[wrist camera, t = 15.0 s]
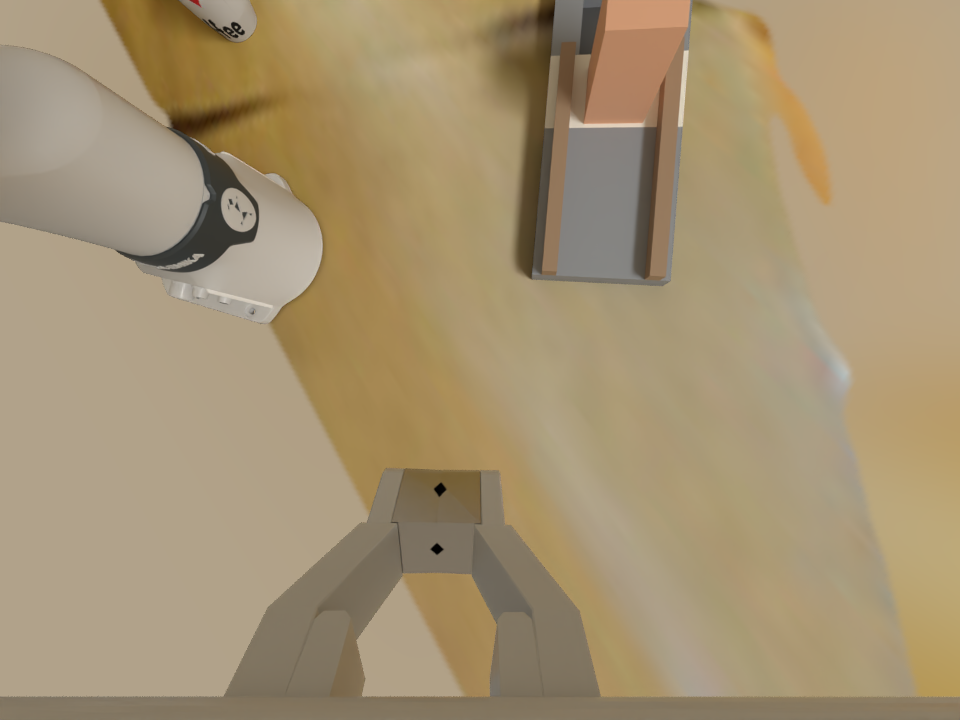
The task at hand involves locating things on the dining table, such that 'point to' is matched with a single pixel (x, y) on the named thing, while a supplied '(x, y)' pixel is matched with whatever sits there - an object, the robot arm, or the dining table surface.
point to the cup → (226, 17)
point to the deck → (606, 169)
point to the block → (632, 57)
